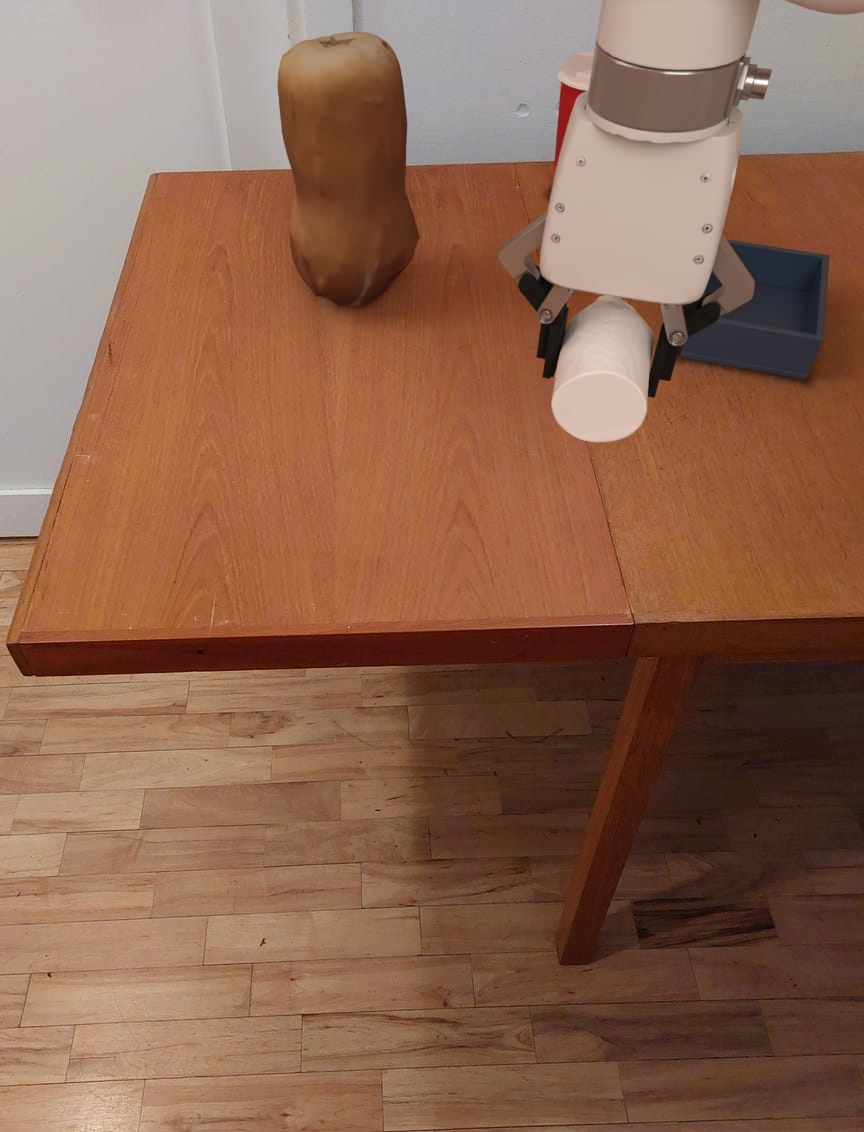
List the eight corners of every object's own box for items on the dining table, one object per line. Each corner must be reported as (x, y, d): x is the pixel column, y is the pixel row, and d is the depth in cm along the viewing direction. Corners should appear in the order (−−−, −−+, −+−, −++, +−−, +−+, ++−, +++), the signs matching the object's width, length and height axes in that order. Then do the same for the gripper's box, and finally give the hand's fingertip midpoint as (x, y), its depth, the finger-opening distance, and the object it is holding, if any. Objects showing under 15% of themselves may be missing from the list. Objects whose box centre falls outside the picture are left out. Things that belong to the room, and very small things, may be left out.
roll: (647, 344, 64) (665, 270, 60) (637, 449, 57) (657, 374, 53) (564, 334, 65) (575, 261, 61) (544, 436, 58) (556, 362, 54)
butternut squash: (318, 256, 104) (300, 4, 84) (429, 273, 101) (438, 16, 82) (276, 321, 96) (246, 58, 76) (396, 340, 93) (398, 74, 74)
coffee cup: (607, 182, 114) (631, 50, 103) (610, 213, 109) (636, 78, 98) (541, 180, 115) (558, 48, 103) (542, 211, 110) (560, 76, 98)
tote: (806, 380, 88) (823, 339, 85) (679, 357, 91) (691, 316, 87) (813, 294, 98) (829, 254, 94) (699, 276, 100) (710, 236, 97)
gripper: (837, 75, 47) (736, 367, 61) (517, 42, 51) (491, 325, 65) (834, 133, 43) (726, 434, 57) (484, 93, 46) (464, 385, 60)
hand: (601, 374), depth 61 cm, fingers closed on roll, 6 cm apart
